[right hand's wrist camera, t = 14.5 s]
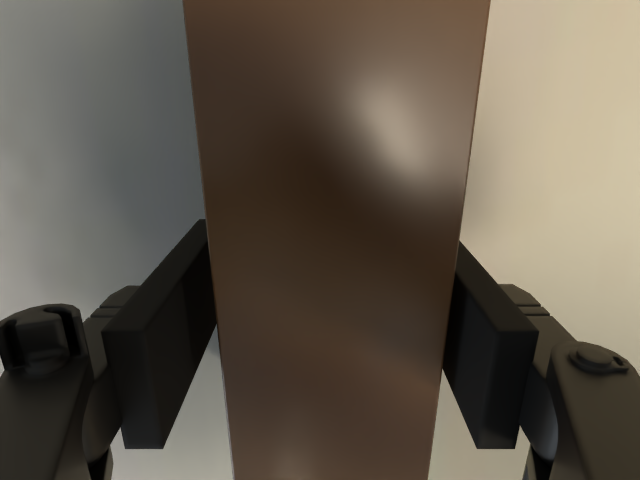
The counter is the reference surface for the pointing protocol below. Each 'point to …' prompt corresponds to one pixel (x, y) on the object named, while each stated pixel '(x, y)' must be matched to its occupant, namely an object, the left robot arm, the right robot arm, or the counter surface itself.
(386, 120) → the post
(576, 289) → the counter surface
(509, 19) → the counter surface
